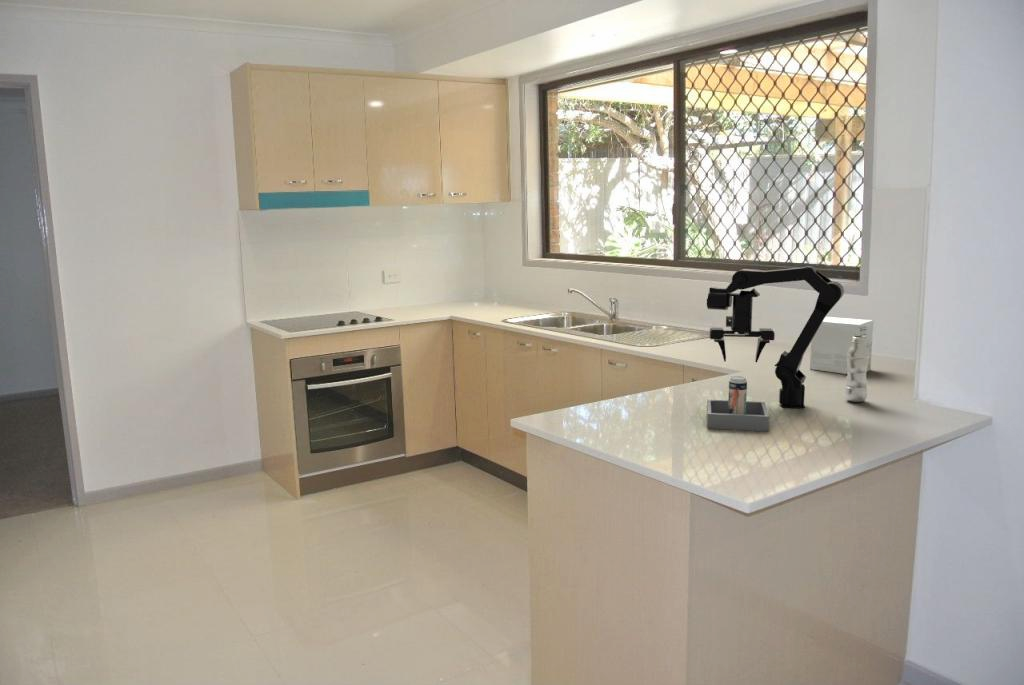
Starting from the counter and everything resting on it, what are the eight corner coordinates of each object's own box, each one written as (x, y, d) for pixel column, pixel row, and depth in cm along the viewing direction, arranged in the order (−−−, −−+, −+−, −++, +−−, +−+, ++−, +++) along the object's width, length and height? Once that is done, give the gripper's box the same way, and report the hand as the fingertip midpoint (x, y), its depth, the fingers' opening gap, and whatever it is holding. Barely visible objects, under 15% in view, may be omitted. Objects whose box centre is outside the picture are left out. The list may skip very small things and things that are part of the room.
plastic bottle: (867, 399, 247) (871, 335, 243) (866, 405, 241) (870, 339, 237) (844, 398, 249) (848, 334, 246) (843, 403, 243) (847, 337, 240)
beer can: (725, 417, 227) (726, 376, 225) (741, 417, 228) (743, 375, 226) (731, 422, 223) (732, 380, 221) (748, 421, 223) (749, 379, 221)
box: (764, 415, 231) (764, 401, 230) (768, 431, 216) (769, 416, 215) (706, 412, 235) (707, 399, 234) (707, 428, 219) (707, 413, 219)
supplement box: (871, 370, 288) (874, 319, 285) (857, 376, 279) (860, 324, 276) (823, 363, 300) (826, 315, 297) (808, 369, 291) (811, 319, 287)
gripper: (771, 307, 250) (769, 357, 253) (709, 307, 254) (708, 355, 256) (775, 312, 239) (773, 364, 242) (710, 312, 243) (709, 362, 246)
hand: (740, 361), depth 247 cm, fingers open, 9 cm apart
